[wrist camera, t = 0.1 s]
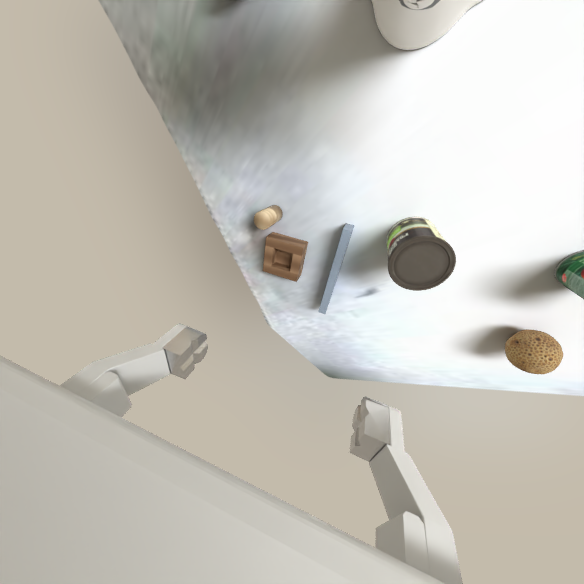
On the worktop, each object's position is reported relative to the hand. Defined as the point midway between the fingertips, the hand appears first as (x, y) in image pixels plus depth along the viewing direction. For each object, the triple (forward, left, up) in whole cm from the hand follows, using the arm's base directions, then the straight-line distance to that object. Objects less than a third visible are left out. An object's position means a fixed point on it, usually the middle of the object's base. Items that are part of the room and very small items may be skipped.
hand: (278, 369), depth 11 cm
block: (+17, -14, -48) cm, 53 cm away
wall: (+17, 0, -48) cm, 51 cm away
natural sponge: (+20, +46, -48) cm, 70 cm away
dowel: (+7, -19, -48) cm, 52 cm away
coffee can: (+5, +14, -48) cm, 50 cm away
